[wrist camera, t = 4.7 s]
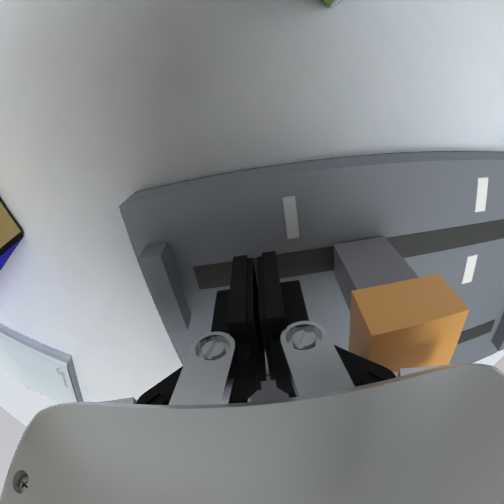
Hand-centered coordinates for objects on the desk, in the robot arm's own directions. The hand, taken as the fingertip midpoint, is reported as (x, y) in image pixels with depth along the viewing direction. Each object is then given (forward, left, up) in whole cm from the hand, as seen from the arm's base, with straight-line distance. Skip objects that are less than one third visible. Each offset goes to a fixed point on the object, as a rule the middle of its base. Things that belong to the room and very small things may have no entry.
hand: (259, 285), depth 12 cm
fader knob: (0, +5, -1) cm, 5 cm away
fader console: (+4, +7, -3) cm, 8 cm away
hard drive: (+8, -23, -4) cm, 25 cm away
